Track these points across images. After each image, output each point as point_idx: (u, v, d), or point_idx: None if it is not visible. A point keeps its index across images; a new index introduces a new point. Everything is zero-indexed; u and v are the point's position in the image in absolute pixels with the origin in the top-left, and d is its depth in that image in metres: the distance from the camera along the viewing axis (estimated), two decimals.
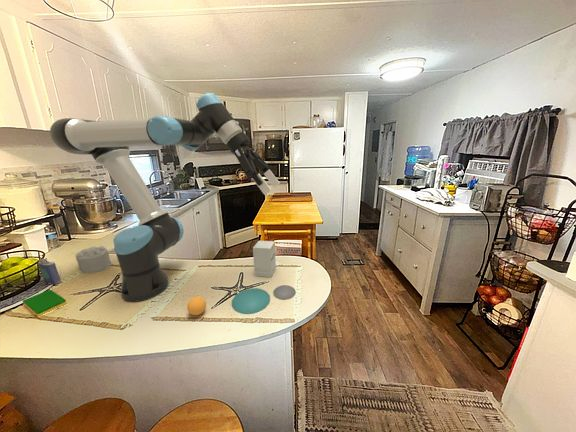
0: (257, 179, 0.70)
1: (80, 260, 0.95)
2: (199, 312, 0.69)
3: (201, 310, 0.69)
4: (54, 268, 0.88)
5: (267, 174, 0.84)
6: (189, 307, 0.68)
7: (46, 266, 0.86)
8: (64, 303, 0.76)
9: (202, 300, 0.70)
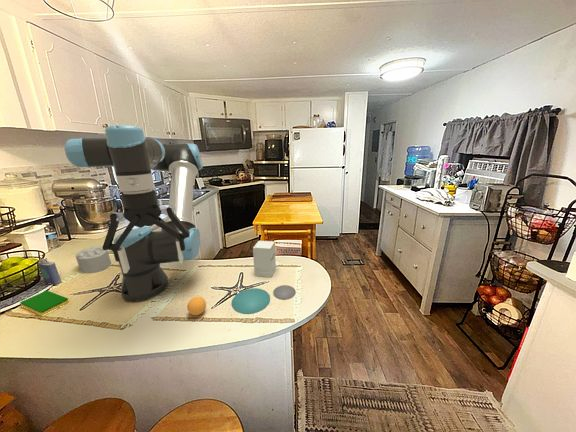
0: None
1: (80, 260, 0.95)
2: (199, 312, 0.69)
3: (201, 310, 0.69)
4: (54, 268, 0.88)
5: None
6: (189, 307, 0.68)
7: (46, 266, 0.86)
8: (66, 301, 0.77)
9: (202, 300, 0.70)
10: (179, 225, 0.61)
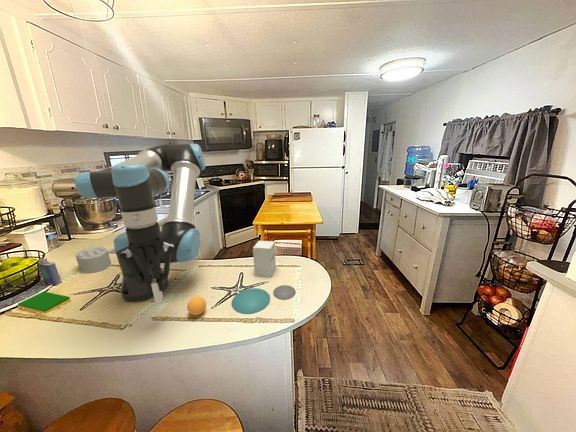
0: (148, 287, 0.63)
1: (80, 260, 0.95)
2: (199, 312, 0.69)
3: (201, 310, 0.69)
4: (54, 268, 0.88)
5: None
6: (189, 307, 0.68)
7: (46, 266, 0.86)
8: (68, 300, 0.78)
9: (202, 300, 0.70)
10: (167, 265, 0.63)
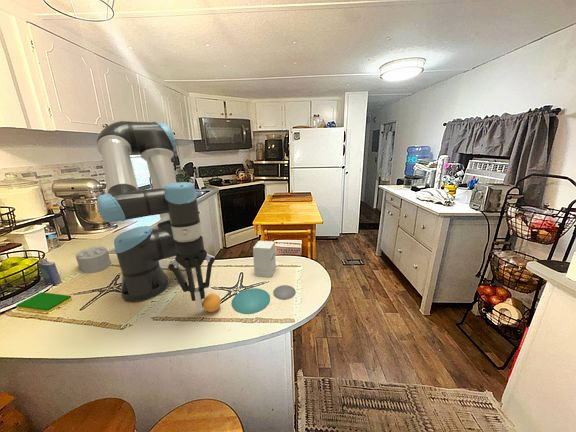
0: (191, 295, 0.68)
1: (80, 260, 0.95)
2: (210, 310, 0.70)
3: (212, 310, 0.70)
4: (54, 268, 0.88)
5: None
6: (211, 299, 0.70)
7: (46, 266, 0.86)
8: (70, 299, 0.78)
9: None
10: (209, 275, 0.67)
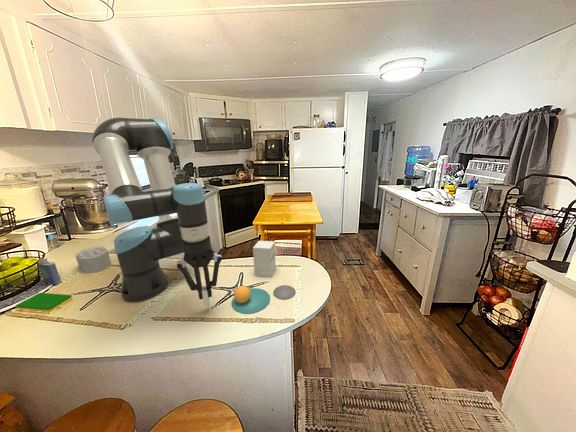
0: (198, 293, 0.69)
1: (80, 260, 0.95)
2: (247, 295, 0.73)
3: (245, 294, 0.73)
4: (54, 268, 0.88)
5: None
6: (240, 302, 0.74)
7: (46, 266, 0.86)
8: (70, 298, 0.79)
9: (237, 291, 0.73)
10: (216, 274, 0.68)
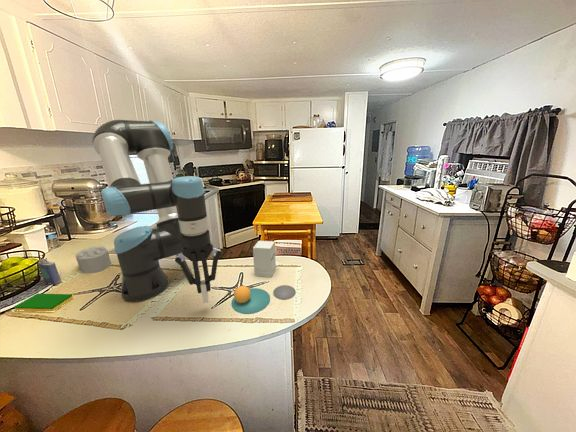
0: (197, 287, 0.69)
1: (80, 260, 0.95)
2: (247, 295, 0.73)
3: (245, 294, 0.73)
4: (54, 268, 0.88)
5: None
6: (240, 302, 0.74)
7: (46, 266, 0.86)
8: (71, 297, 0.79)
9: (237, 291, 0.73)
10: (215, 268, 0.68)
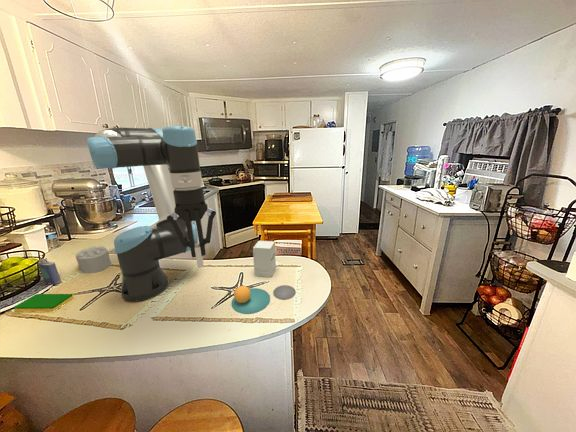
0: (191, 251, 0.65)
1: (80, 260, 0.95)
2: (247, 295, 0.73)
3: (245, 294, 0.73)
4: (54, 268, 0.88)
5: None
6: (240, 302, 0.74)
7: (46, 266, 0.86)
8: (72, 297, 0.80)
9: (237, 291, 0.73)
10: (210, 229, 0.64)
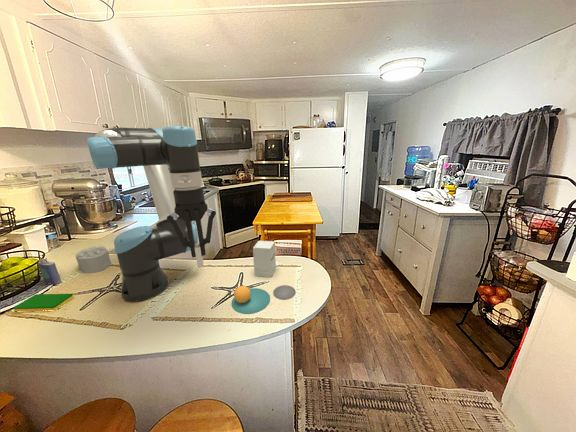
0: (191, 251, 0.65)
1: (80, 260, 0.95)
2: (247, 295, 0.73)
3: (245, 294, 0.73)
4: (54, 268, 0.88)
5: None
6: (240, 302, 0.74)
7: (46, 266, 0.86)
8: (72, 296, 0.80)
9: (237, 291, 0.73)
10: (210, 229, 0.64)
